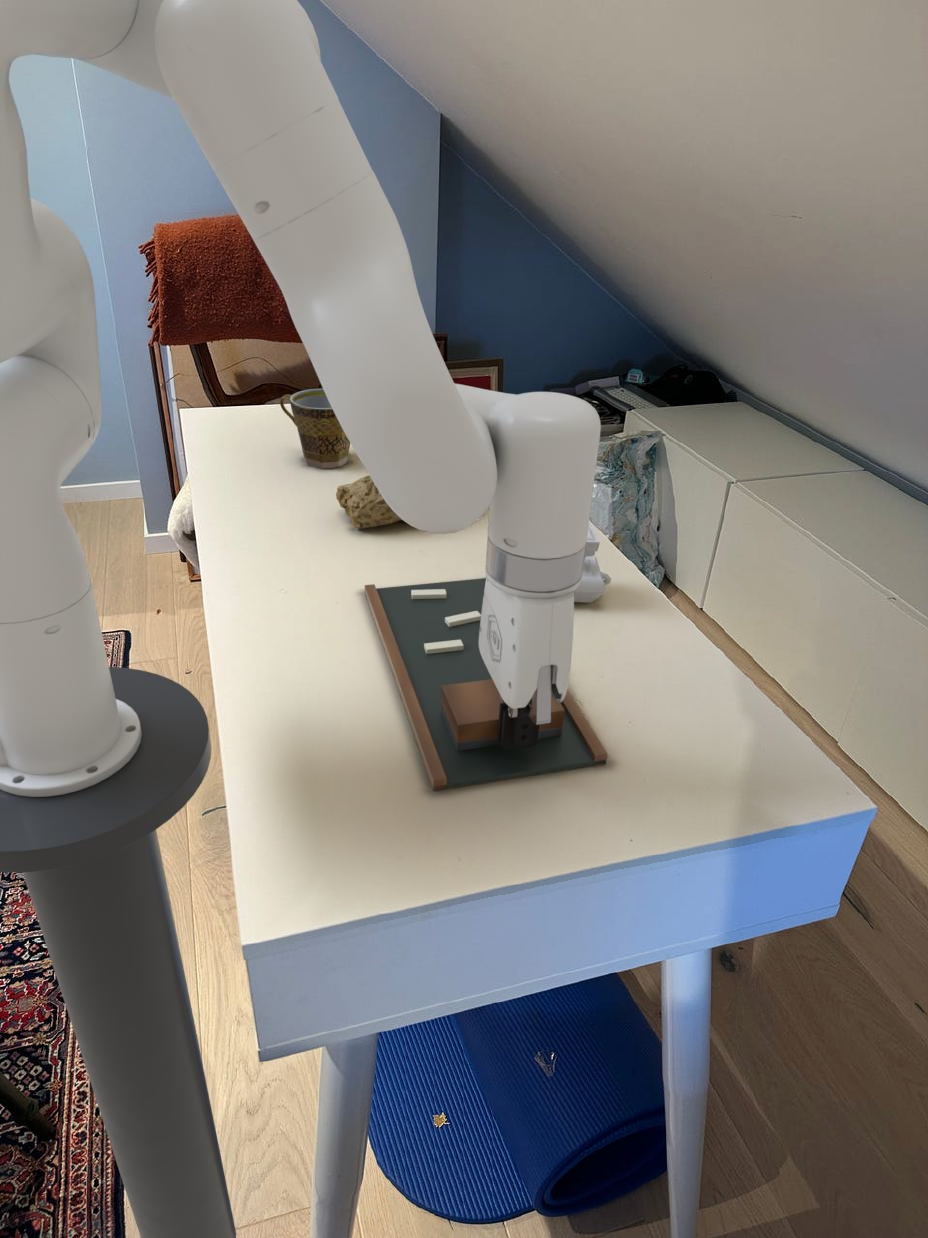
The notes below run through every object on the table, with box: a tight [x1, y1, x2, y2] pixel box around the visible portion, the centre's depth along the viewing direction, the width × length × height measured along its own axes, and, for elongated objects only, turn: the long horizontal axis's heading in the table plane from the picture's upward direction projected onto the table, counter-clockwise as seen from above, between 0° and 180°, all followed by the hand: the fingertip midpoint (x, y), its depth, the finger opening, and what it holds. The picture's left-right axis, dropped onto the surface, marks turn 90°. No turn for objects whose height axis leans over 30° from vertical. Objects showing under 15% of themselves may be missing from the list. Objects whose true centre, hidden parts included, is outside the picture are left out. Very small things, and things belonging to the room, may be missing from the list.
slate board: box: [364, 577, 608, 792], centre depth 89 cm, size 16×34×1 cm, turn 15°
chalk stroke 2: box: [424, 640, 464, 654], centre depth 91 cm, size 4×1×1 cm, turn 105°
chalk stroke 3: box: [445, 611, 481, 627], centre depth 96 cm, size 4×1×1 cm, turn 115°
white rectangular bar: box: [411, 589, 447, 599], centre depth 100 cm, size 4×1×1 cm, turn 97°
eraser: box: [441, 679, 565, 751], centre depth 80 cm, size 10×6×3 cm, turn 106°
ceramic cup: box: [279, 388, 351, 470], centre depth 133 cm, size 13×10×10 cm
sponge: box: [335, 474, 403, 529], centre depth 120 cm, size 13×8×20 cm
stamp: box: [573, 525, 612, 603], centre depth 101 cm, size 9×7×8 cm
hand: (516, 742), depth 76 cm, fingers closed
